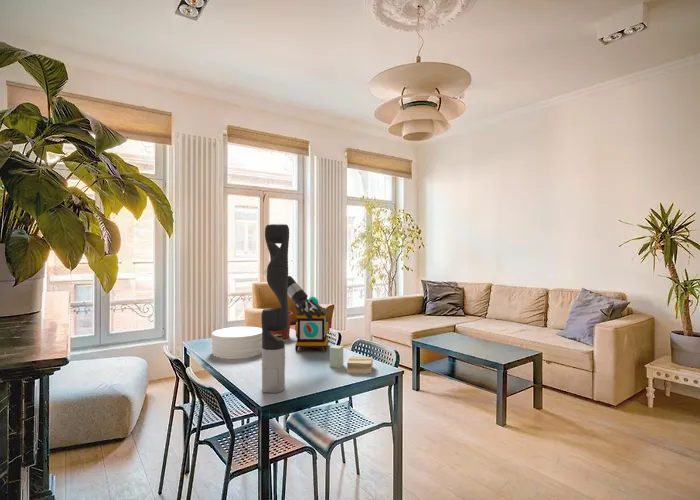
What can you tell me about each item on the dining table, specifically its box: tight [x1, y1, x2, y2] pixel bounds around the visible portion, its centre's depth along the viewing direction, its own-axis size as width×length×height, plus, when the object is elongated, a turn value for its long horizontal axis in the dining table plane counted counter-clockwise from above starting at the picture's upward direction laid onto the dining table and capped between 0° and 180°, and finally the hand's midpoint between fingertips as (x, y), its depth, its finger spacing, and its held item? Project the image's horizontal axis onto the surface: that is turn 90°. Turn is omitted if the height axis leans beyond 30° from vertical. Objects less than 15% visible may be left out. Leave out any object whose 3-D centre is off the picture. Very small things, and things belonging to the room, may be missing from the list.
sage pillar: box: [329, 344, 344, 369], centre depth 195 cm, size 5×5×10 cm
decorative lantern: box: [294, 296, 330, 353], centre depth 229 cm, size 20×20×30 cm
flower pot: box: [270, 310, 293, 340], centre depth 256 cm, size 16×16×16 cm
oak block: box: [346, 356, 374, 374], centre depth 189 cm, size 11×11×5 cm
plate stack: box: [211, 326, 262, 360], centre depth 221 cm, size 28×28×12 cm
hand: (316, 317), depth 200 cm, fingers open, 8 cm apart
